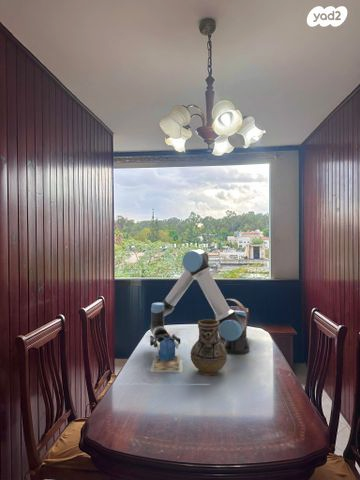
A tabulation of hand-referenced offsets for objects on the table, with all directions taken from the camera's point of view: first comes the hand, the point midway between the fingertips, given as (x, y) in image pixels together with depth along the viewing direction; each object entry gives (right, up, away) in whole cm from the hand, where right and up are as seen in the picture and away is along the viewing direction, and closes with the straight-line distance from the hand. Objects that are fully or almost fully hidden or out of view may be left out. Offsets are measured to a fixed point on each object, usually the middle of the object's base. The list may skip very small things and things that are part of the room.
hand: (168, 346), depth 174 cm
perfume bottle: (-1, -7, +5) cm, 9 cm away
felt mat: (-1, -12, +5) cm, 12 cm away
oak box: (-1, -11, +5) cm, 12 cm away
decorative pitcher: (+20, -12, -3) cm, 23 cm away
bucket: (+41, -11, +54) cm, 69 cm away
